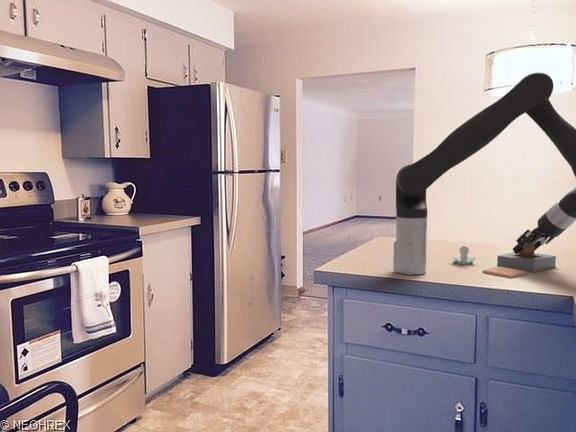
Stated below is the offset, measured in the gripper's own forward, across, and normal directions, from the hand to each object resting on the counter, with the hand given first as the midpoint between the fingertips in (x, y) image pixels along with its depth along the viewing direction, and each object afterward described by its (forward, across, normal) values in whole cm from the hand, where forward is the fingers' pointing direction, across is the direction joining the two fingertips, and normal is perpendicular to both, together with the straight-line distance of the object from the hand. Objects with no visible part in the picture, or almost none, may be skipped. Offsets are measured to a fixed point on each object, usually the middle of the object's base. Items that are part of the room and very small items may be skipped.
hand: (522, 250), depth 160 cm
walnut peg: (+2, 0, +5) cm, 5 cm away
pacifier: (+12, +14, -5) cm, 19 cm away
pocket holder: (+2, 0, +5) cm, 5 cm away
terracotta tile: (0, +15, +7) cm, 16 cm away
